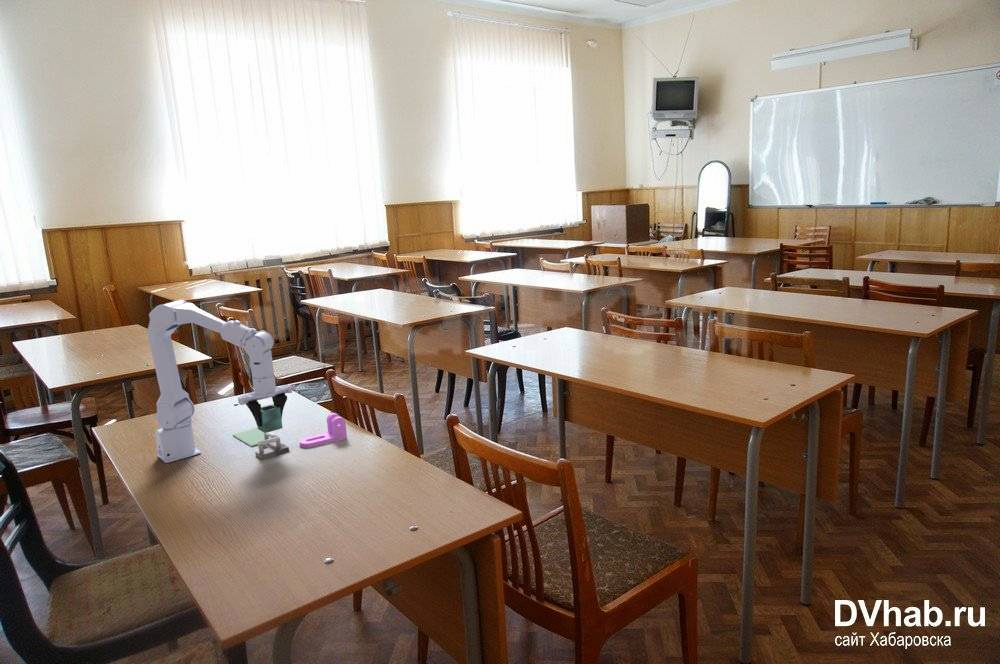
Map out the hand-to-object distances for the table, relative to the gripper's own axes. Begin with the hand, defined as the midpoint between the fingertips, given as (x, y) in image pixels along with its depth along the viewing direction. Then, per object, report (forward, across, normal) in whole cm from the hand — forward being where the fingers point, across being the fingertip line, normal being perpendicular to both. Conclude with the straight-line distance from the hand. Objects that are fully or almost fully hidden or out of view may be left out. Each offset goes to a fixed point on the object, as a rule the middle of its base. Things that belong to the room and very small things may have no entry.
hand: (269, 423), depth 186 cm
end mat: (+9, +2, +17) cm, 19 cm away
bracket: (+9, +14, -2) cm, 17 cm away
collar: (+2, 0, 0) cm, 2 cm away
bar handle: (+9, 0, +4) cm, 10 cm away
